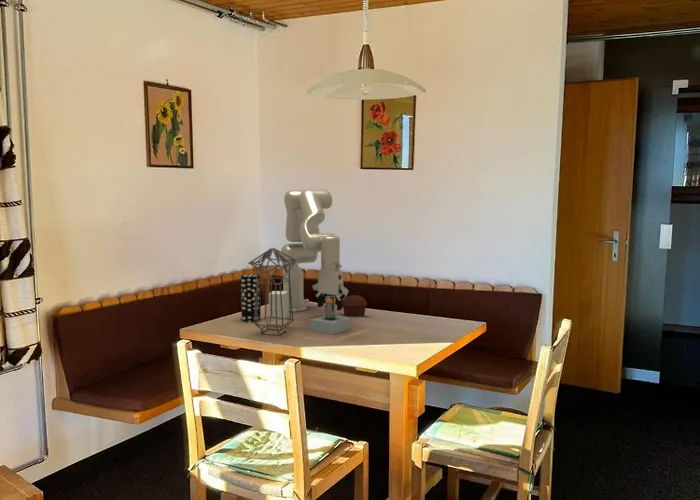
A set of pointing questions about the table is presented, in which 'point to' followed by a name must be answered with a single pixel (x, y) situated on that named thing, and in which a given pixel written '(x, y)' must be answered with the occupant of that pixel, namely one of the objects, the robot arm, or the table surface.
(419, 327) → the table surface
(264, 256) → the geometric lantern
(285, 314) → the supplement box
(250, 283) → the spotted tube
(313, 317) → the mount
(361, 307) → the muffin
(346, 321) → the socket
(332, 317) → the pin
